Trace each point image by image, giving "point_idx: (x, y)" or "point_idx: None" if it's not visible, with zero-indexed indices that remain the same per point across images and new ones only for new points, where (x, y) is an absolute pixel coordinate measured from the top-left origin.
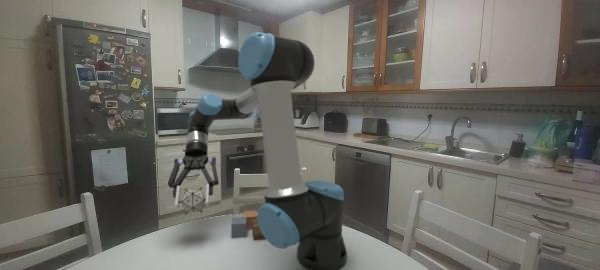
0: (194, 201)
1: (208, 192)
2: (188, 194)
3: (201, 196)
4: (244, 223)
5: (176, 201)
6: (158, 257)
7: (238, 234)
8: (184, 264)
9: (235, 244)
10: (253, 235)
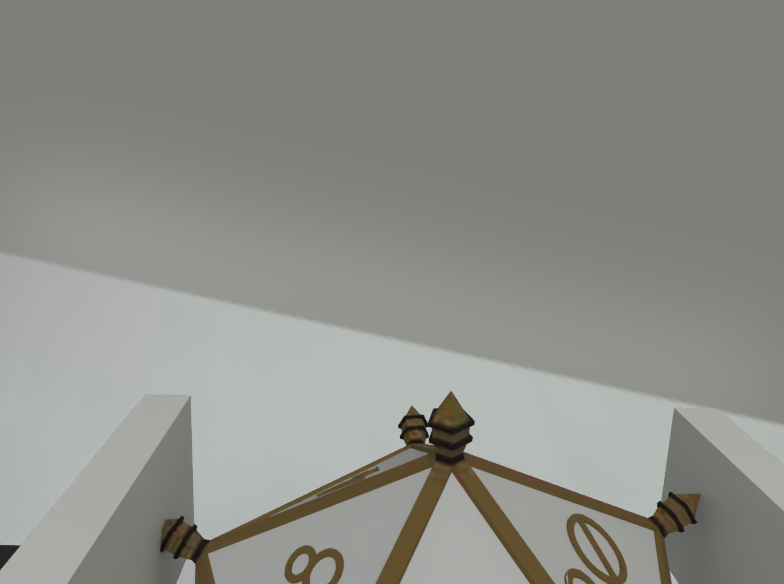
0: (397, 460)
1: (63, 499)
2: (559, 547)
3: (257, 567)
4: None
5: (727, 434)
6: (644, 475)
7: None
8: (426, 346)
9: (16, 531)
10: None
